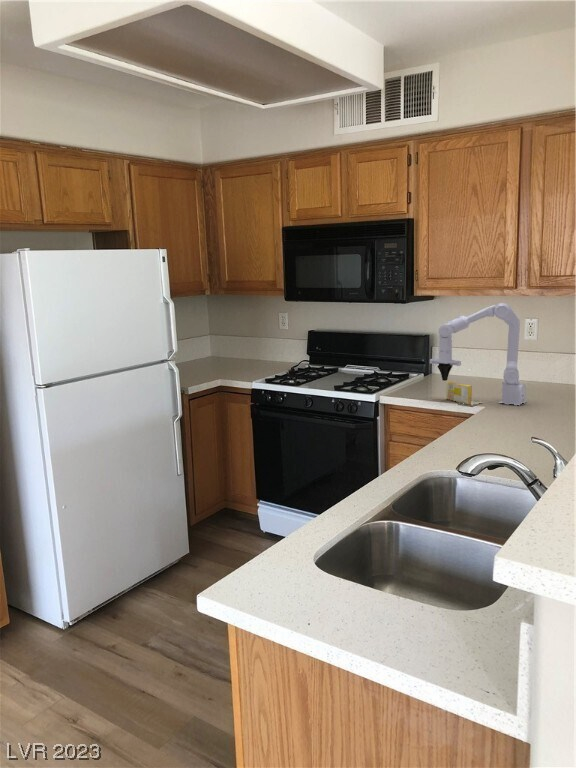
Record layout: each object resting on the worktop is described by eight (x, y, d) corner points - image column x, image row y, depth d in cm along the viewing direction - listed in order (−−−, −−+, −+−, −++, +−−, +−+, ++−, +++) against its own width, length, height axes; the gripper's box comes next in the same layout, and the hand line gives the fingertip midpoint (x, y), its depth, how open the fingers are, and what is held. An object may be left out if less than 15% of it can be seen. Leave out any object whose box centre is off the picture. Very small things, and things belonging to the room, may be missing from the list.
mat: (482, 402, 273) (482, 402, 272) (472, 406, 265) (472, 406, 265) (468, 401, 277) (468, 400, 277) (457, 404, 270) (457, 404, 270)
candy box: (472, 404, 268) (472, 385, 267) (468, 405, 267) (468, 386, 266) (449, 399, 283) (449, 381, 281) (445, 399, 282) (445, 381, 281)
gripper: (464, 350, 274) (463, 380, 276) (435, 348, 283) (434, 377, 286) (456, 352, 269) (456, 382, 271) (427, 350, 278) (427, 379, 281)
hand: (444, 380), depth 278 cm, fingers closed
